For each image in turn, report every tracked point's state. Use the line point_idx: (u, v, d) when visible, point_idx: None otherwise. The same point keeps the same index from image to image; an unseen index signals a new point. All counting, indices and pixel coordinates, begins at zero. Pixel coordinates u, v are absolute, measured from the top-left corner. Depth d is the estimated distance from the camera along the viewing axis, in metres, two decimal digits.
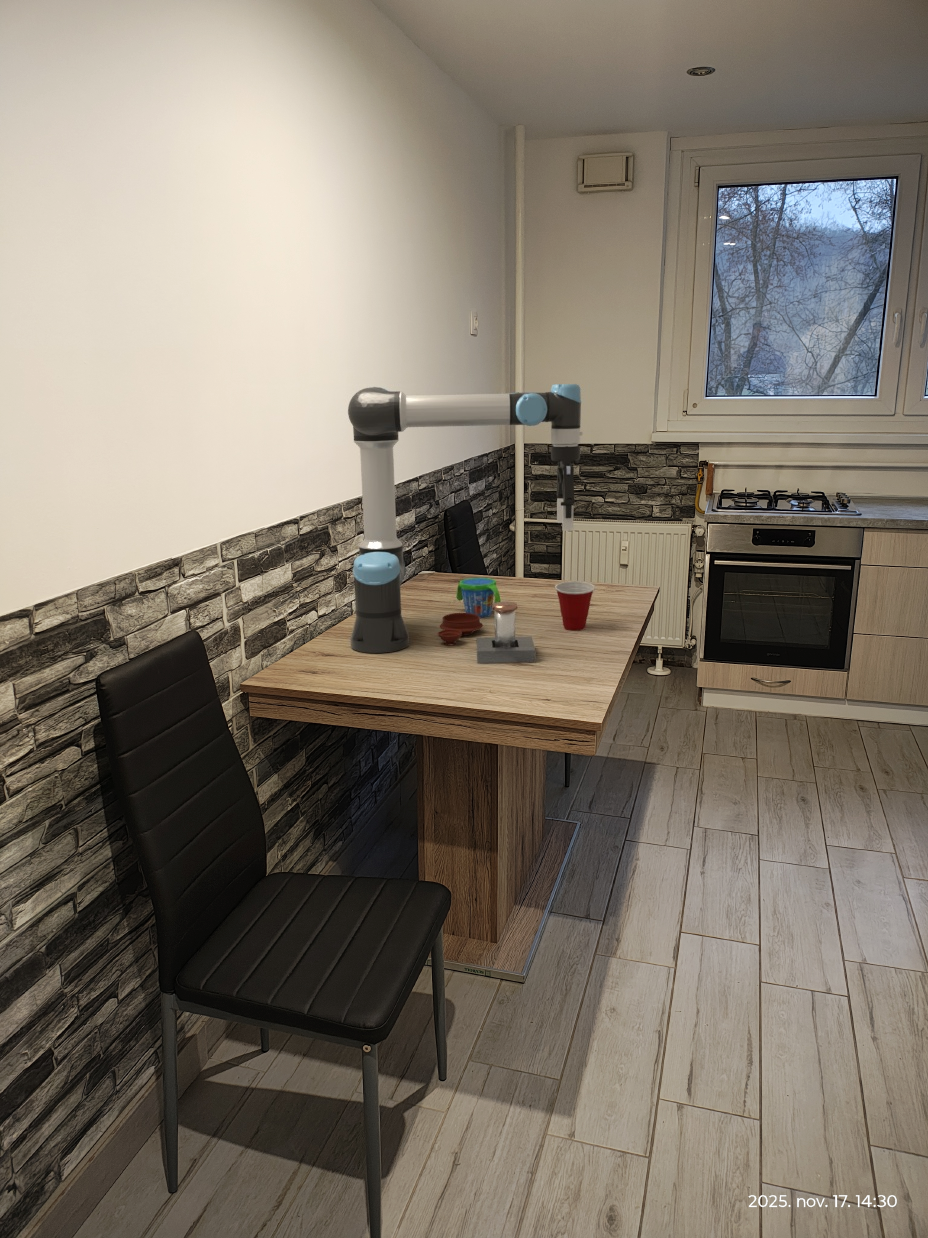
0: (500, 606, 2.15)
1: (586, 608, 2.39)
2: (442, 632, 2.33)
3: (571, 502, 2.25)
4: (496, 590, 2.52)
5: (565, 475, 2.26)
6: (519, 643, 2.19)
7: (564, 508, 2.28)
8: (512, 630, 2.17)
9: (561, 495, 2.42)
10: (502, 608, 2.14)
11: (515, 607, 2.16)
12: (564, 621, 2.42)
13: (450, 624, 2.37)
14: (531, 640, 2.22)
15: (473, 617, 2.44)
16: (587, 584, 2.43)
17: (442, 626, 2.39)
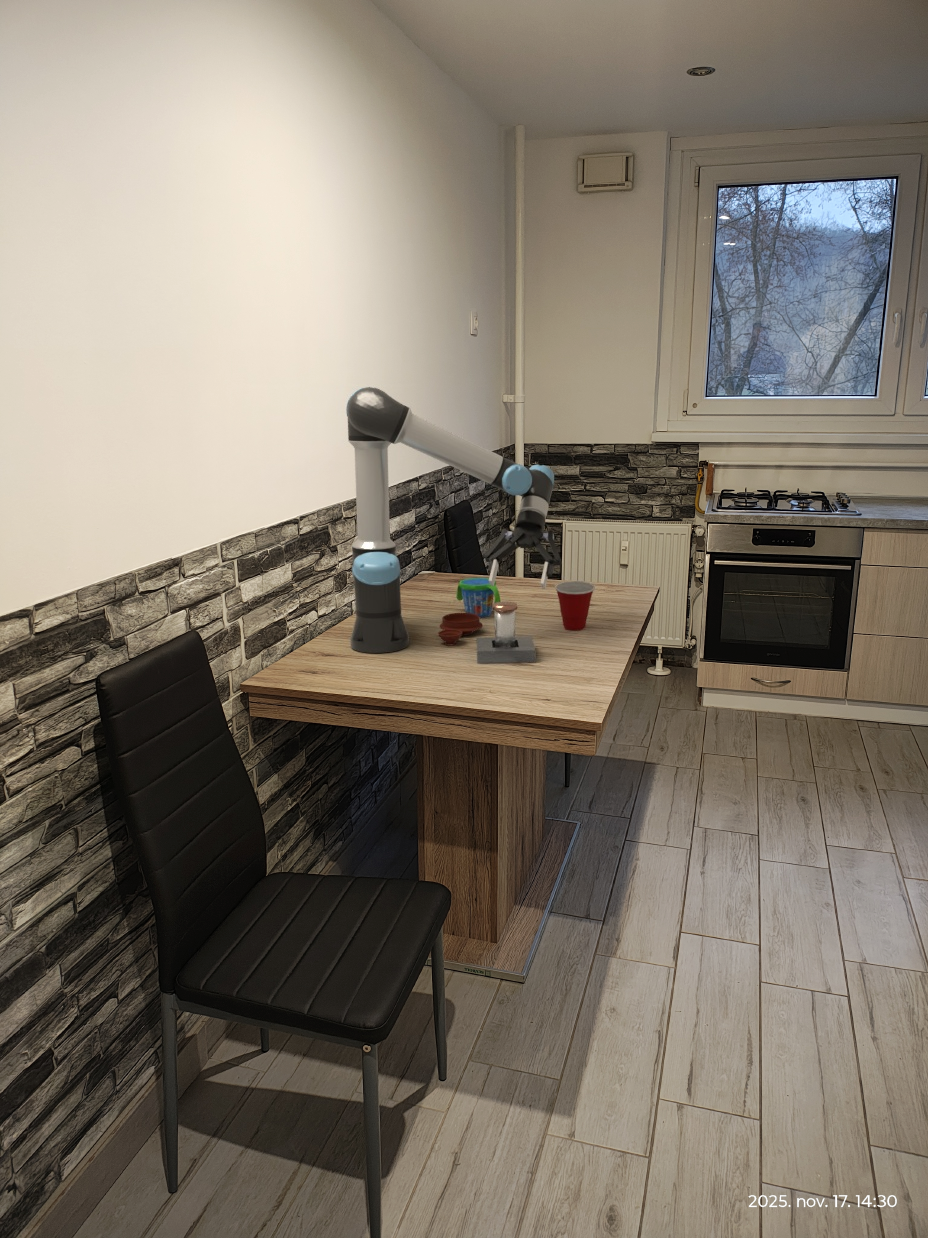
0: (500, 606, 2.15)
1: (586, 608, 2.39)
2: (442, 632, 2.33)
3: (560, 562, 2.27)
4: (496, 590, 2.52)
5: (552, 538, 2.30)
6: (519, 643, 2.19)
7: (547, 565, 2.25)
8: (512, 630, 2.17)
9: (495, 559, 2.31)
10: (502, 608, 2.14)
11: (515, 607, 2.15)
12: (564, 621, 2.42)
13: (450, 624, 2.37)
14: (531, 640, 2.22)
15: (473, 616, 2.44)
16: (587, 584, 2.43)
17: (442, 626, 2.39)
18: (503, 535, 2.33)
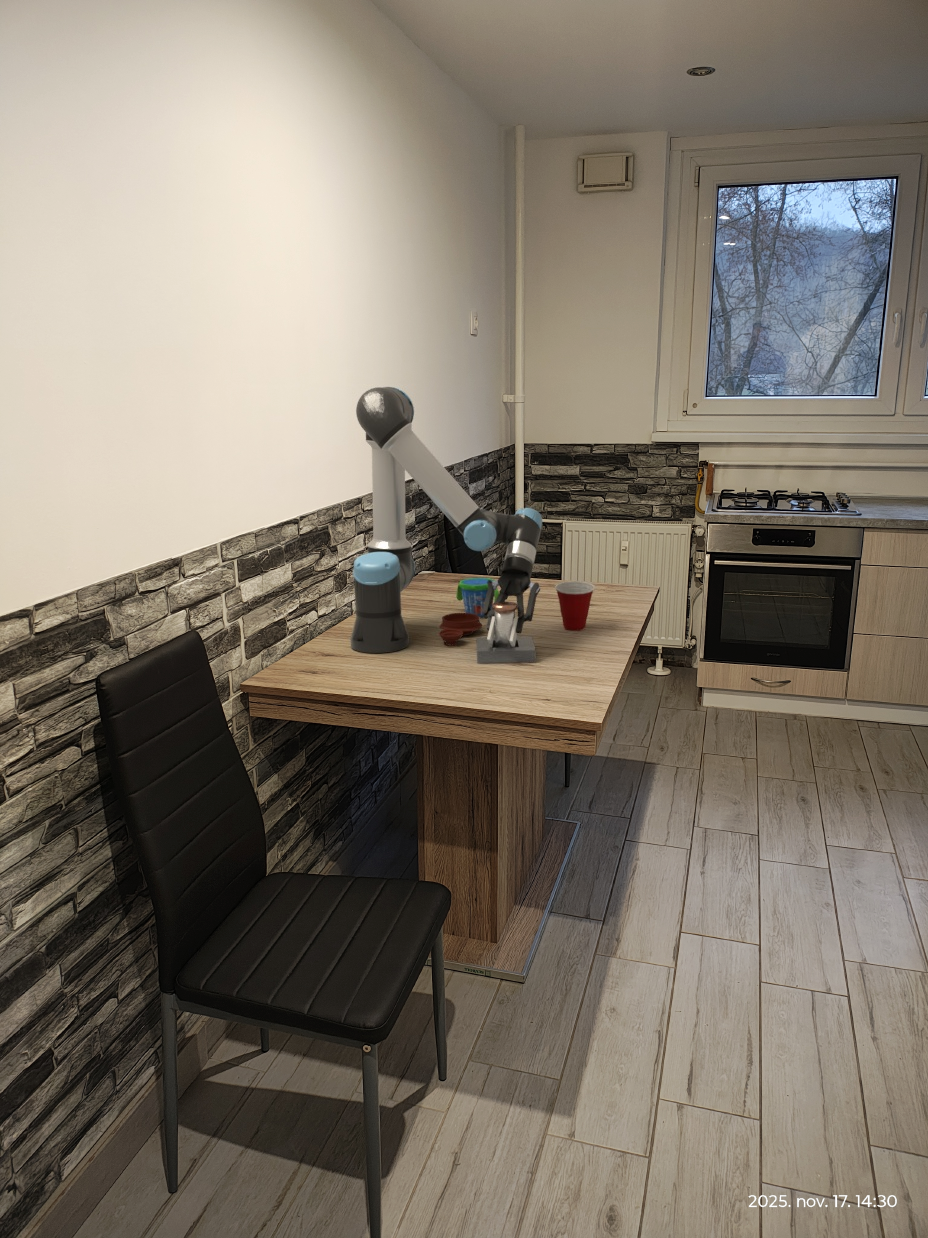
0: (500, 606, 2.15)
1: (586, 608, 2.39)
2: (443, 632, 2.32)
3: (531, 618, 2.18)
4: (496, 590, 2.52)
5: (535, 592, 2.20)
6: (519, 643, 2.19)
7: (517, 621, 2.17)
8: None
9: (493, 615, 2.20)
10: (502, 608, 2.14)
11: (515, 607, 2.15)
12: (564, 621, 2.42)
13: (450, 624, 2.37)
14: (531, 640, 2.22)
15: (473, 616, 2.44)
16: (587, 584, 2.43)
17: (442, 626, 2.39)
18: (491, 586, 2.23)
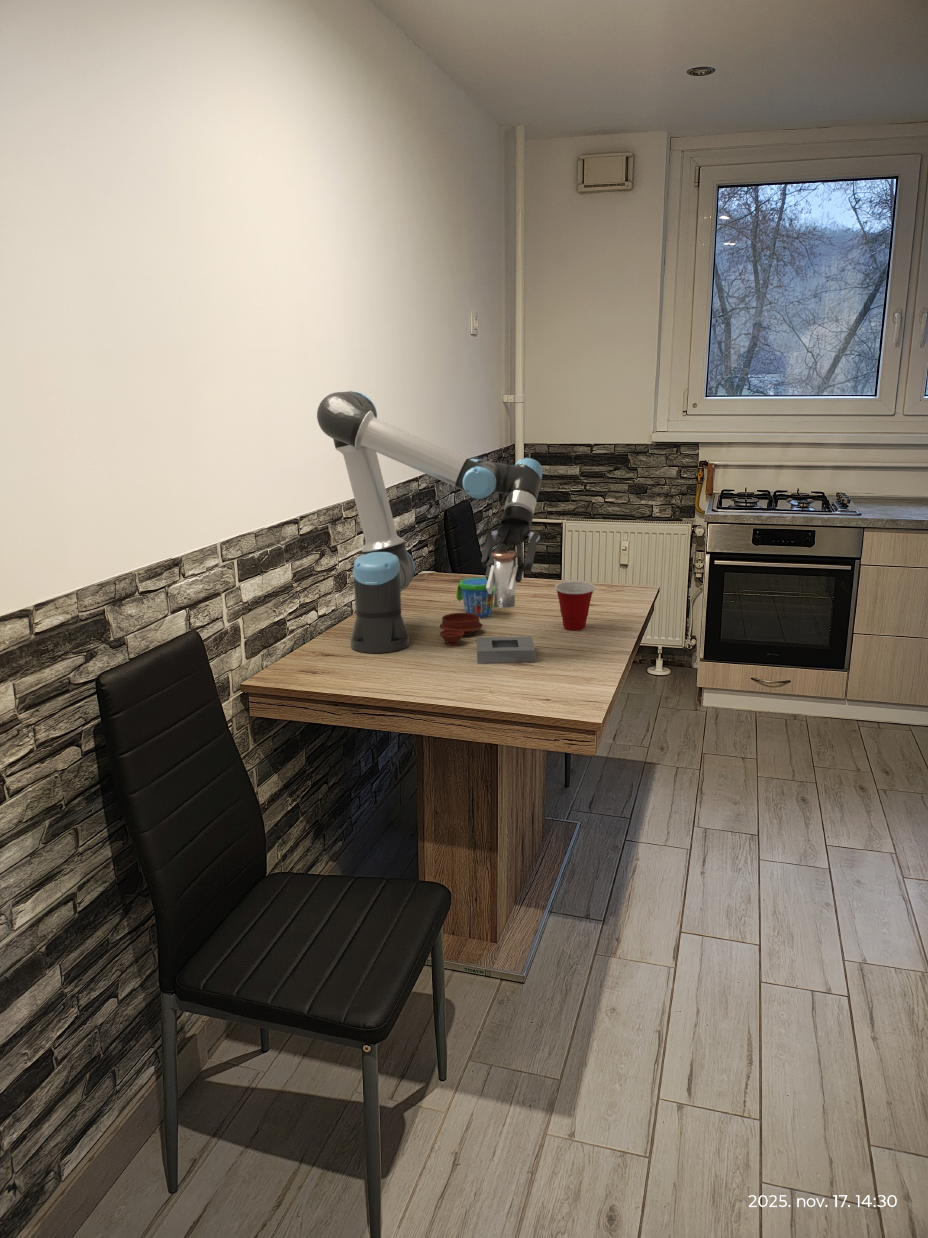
0: (499, 554, 2.12)
1: (586, 608, 2.39)
2: (444, 632, 2.32)
3: (530, 567, 2.14)
4: None
5: (535, 540, 2.17)
6: (519, 643, 2.19)
7: (516, 570, 2.13)
8: None
9: (493, 565, 2.17)
10: (501, 556, 2.11)
11: (515, 555, 2.12)
12: (564, 621, 2.42)
13: (450, 624, 2.37)
14: (531, 640, 2.22)
15: (472, 616, 2.44)
16: (587, 584, 2.43)
17: (442, 626, 2.39)
18: (490, 536, 2.20)
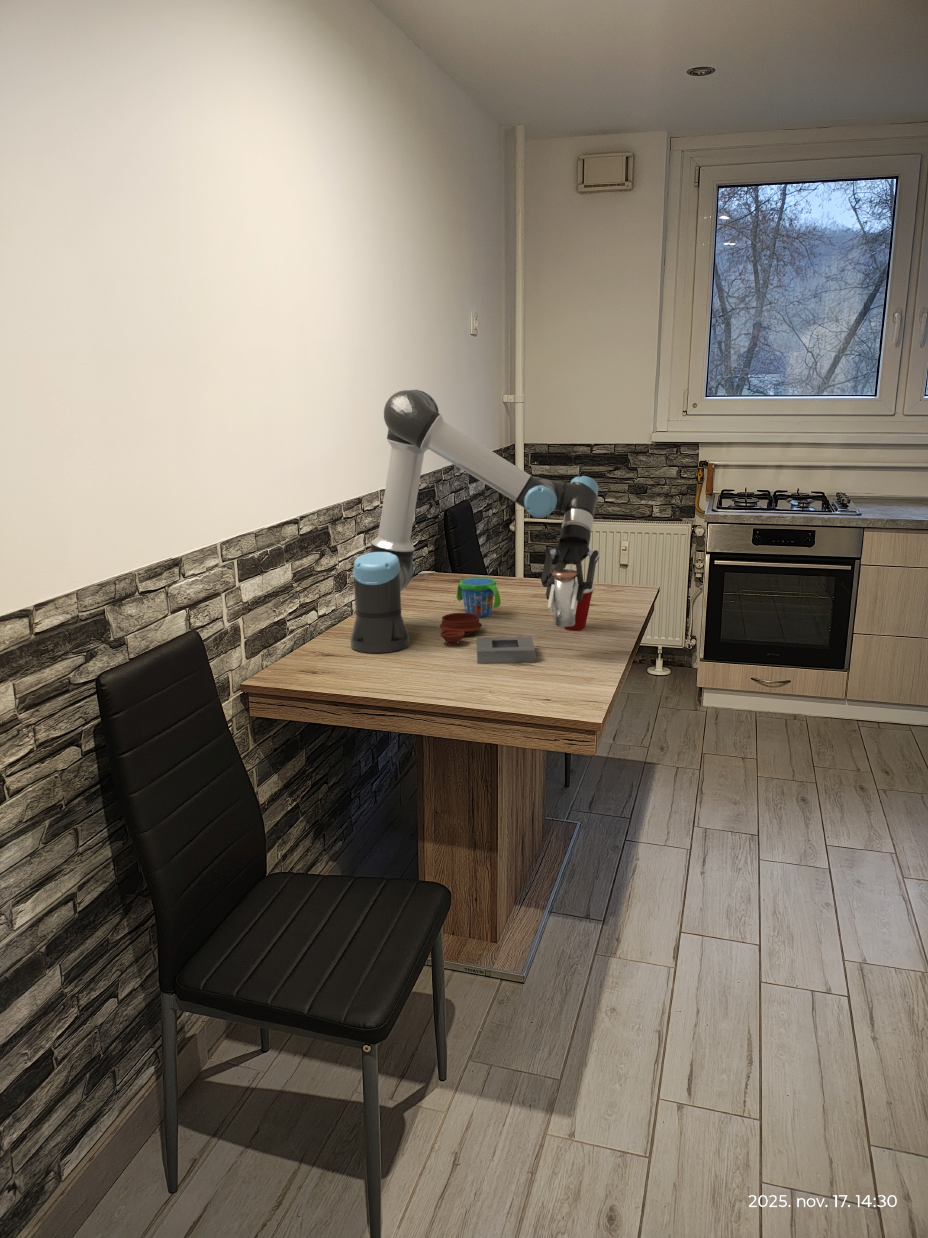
0: (560, 573, 2.12)
1: (586, 608, 2.39)
2: (444, 632, 2.32)
3: (591, 586, 2.15)
4: (496, 590, 2.52)
5: (594, 559, 2.17)
6: (519, 643, 2.19)
7: (577, 589, 2.13)
8: (572, 597, 2.14)
9: (553, 584, 2.17)
10: (563, 575, 2.11)
11: (576, 574, 2.12)
12: None
13: (451, 624, 2.36)
14: (531, 640, 2.22)
15: (472, 616, 2.44)
16: None
17: (442, 626, 2.39)
18: (549, 555, 2.20)
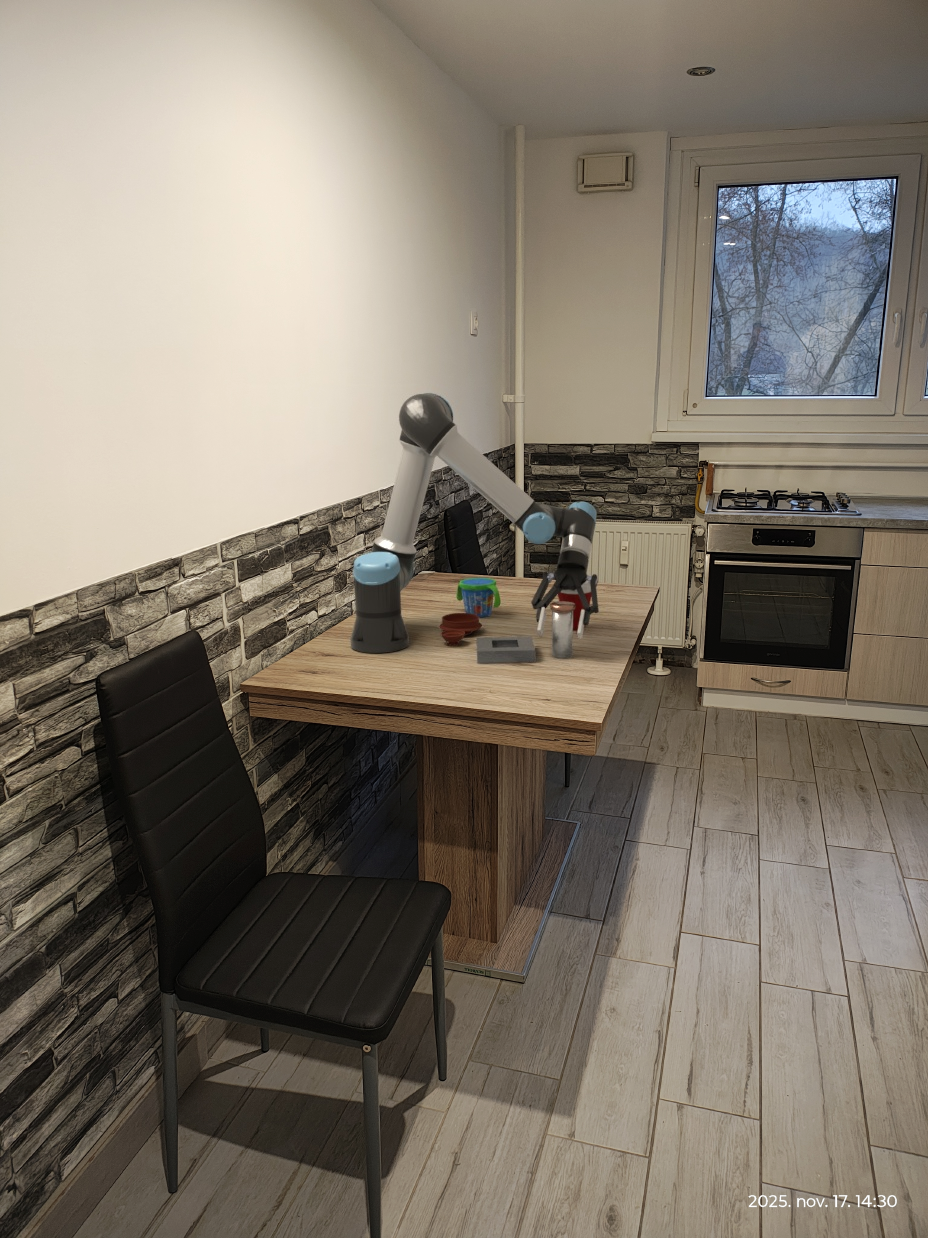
0: (558, 606, 2.14)
1: None
2: (444, 632, 2.32)
3: (597, 610, 2.16)
4: (496, 590, 2.52)
5: (595, 583, 2.19)
6: (519, 643, 2.19)
7: (584, 613, 2.15)
8: (570, 630, 2.16)
9: (543, 606, 2.20)
10: (561, 608, 2.13)
11: (573, 607, 2.15)
12: None
13: (451, 624, 2.36)
14: (531, 640, 2.22)
15: (471, 616, 2.44)
16: (587, 584, 2.43)
17: (442, 627, 2.39)
18: (545, 578, 2.22)
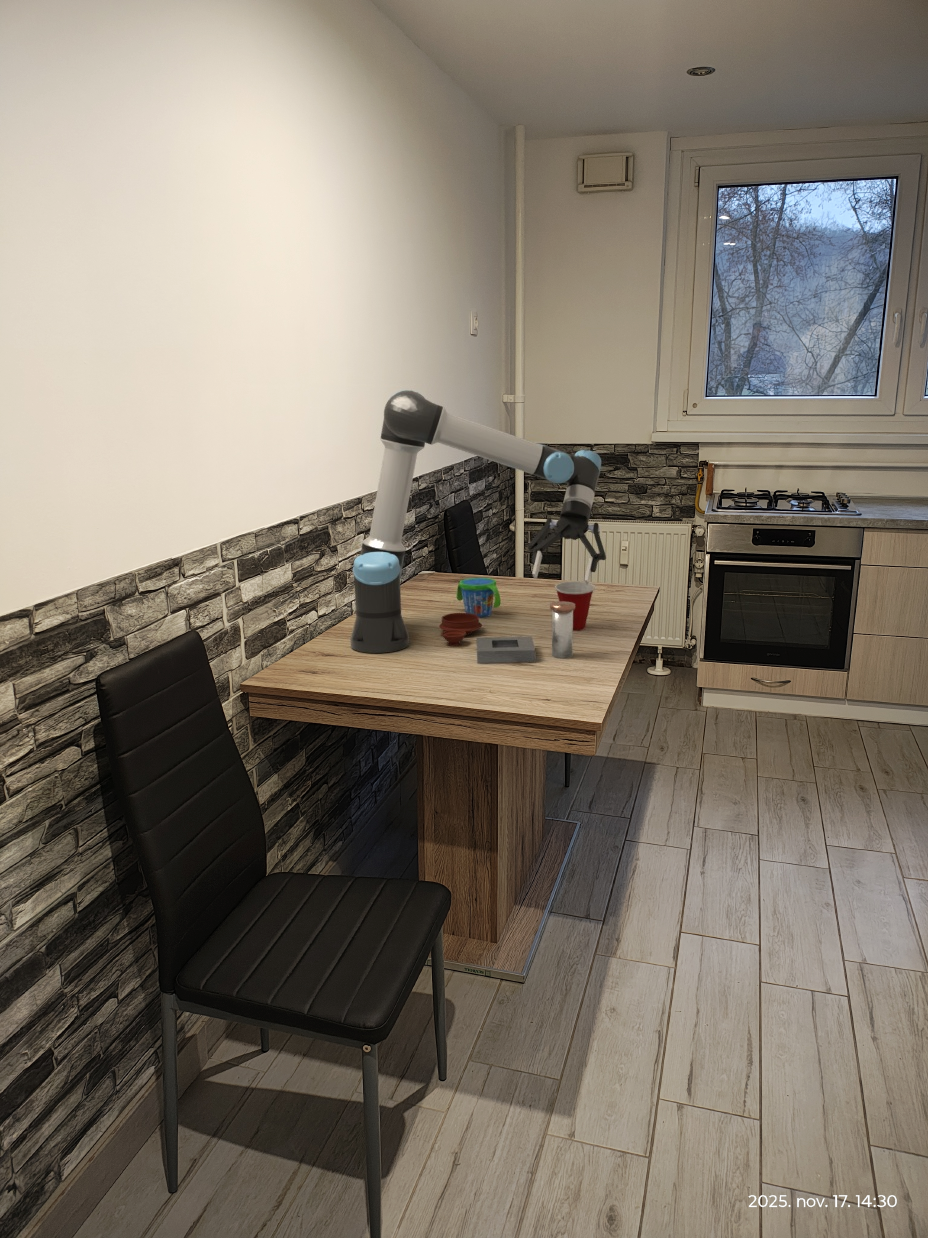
0: (558, 606, 2.14)
1: (586, 608, 2.39)
2: (445, 632, 2.32)
3: (605, 557, 2.25)
4: (496, 590, 2.52)
5: (598, 531, 2.27)
6: (519, 643, 2.19)
7: (592, 560, 2.24)
8: (570, 630, 2.16)
9: (539, 550, 2.30)
10: (561, 608, 2.13)
11: (573, 607, 2.15)
12: None
13: (451, 624, 2.36)
14: (531, 640, 2.22)
15: (471, 616, 2.44)
16: None
17: (442, 627, 2.39)
18: (547, 525, 2.31)
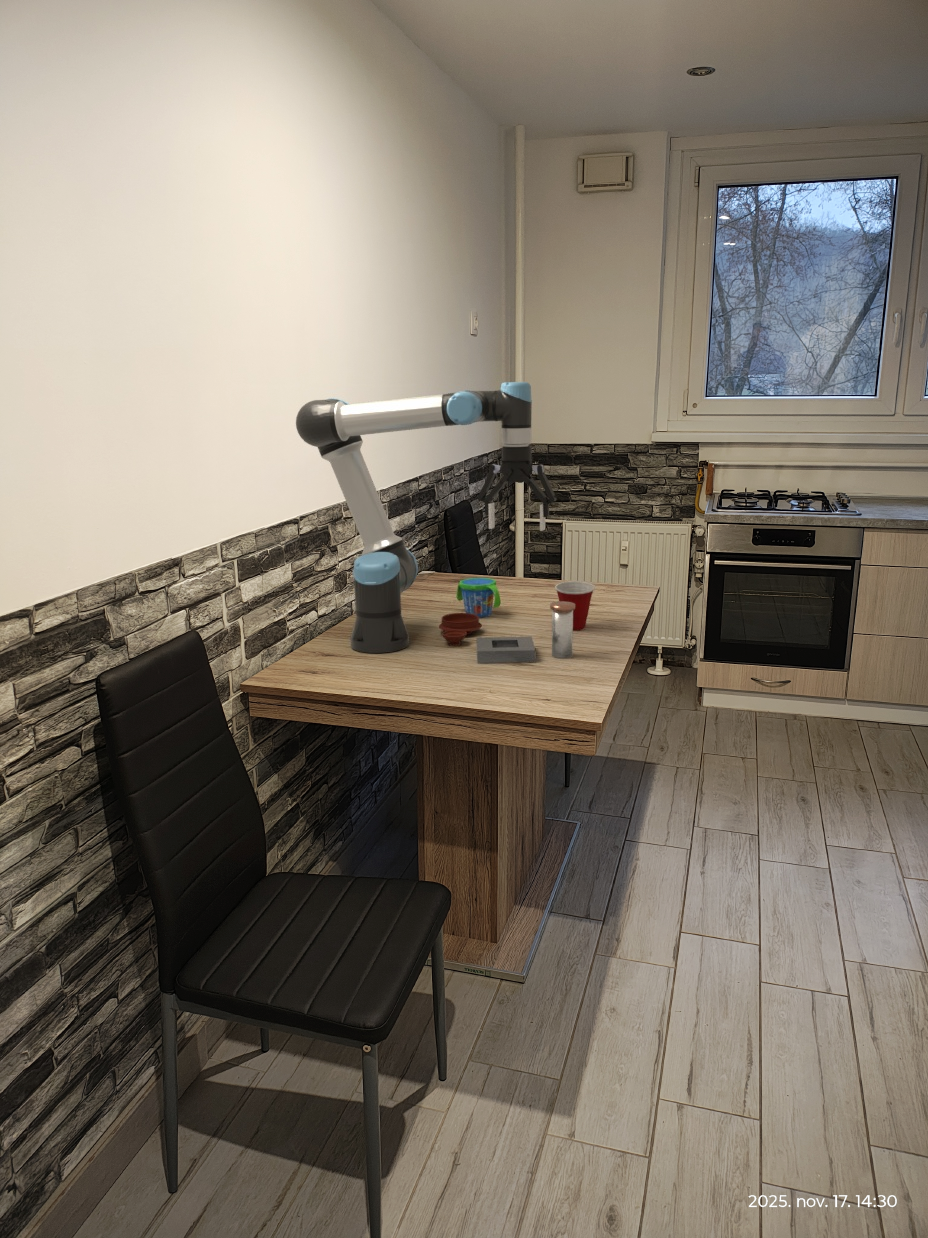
0: (558, 606, 2.14)
1: (586, 608, 2.39)
2: (446, 633, 2.32)
3: (555, 499, 2.25)
4: (496, 590, 2.52)
5: (543, 474, 2.23)
6: (519, 643, 2.19)
7: (543, 507, 2.25)
8: (570, 630, 2.16)
9: (489, 499, 2.30)
10: (561, 608, 2.13)
11: (573, 607, 2.15)
12: None
13: (451, 624, 2.36)
14: (531, 640, 2.22)
15: (471, 616, 2.44)
16: (587, 584, 2.43)
17: (442, 627, 2.39)
18: (492, 473, 2.27)
